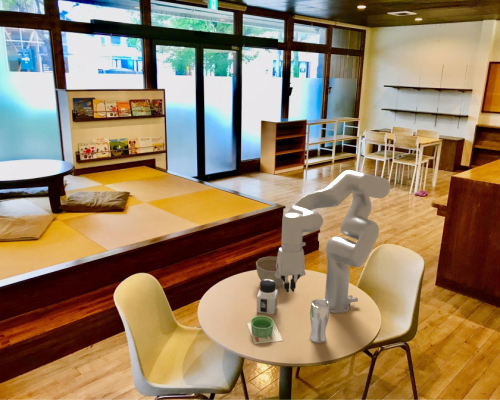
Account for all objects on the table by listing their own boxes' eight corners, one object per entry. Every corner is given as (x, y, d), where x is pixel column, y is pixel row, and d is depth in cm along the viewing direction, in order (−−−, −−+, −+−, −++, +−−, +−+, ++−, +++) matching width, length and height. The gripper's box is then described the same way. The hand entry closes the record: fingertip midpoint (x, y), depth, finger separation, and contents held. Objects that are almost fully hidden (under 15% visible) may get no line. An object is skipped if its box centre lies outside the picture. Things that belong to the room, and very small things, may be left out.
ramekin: (262, 322, 170) (262, 312, 168) (278, 332, 163) (278, 322, 162) (245, 330, 164) (245, 321, 163) (261, 341, 158) (261, 331, 156)
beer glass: (314, 330, 165) (316, 296, 161) (330, 337, 161) (333, 303, 156) (305, 339, 160) (307, 304, 155) (321, 346, 155) (323, 310, 151)
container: (274, 314, 176) (275, 286, 172) (256, 312, 177) (257, 284, 173) (277, 305, 183) (278, 278, 179) (259, 303, 184) (260, 276, 181)
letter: (273, 320, 172) (273, 320, 171) (283, 340, 158) (283, 340, 158) (247, 323, 169) (247, 322, 169) (254, 344, 156) (254, 343, 156)
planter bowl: (272, 296, 190) (273, 274, 187) (248, 283, 202) (249, 262, 198) (296, 285, 201) (297, 264, 198) (272, 273, 212) (273, 253, 209)
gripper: (308, 240, 161) (305, 284, 166) (268, 243, 158) (267, 287, 163) (315, 248, 154) (312, 293, 159) (273, 251, 151) (272, 297, 156)
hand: (289, 290), depth 161 cm, fingers closed
